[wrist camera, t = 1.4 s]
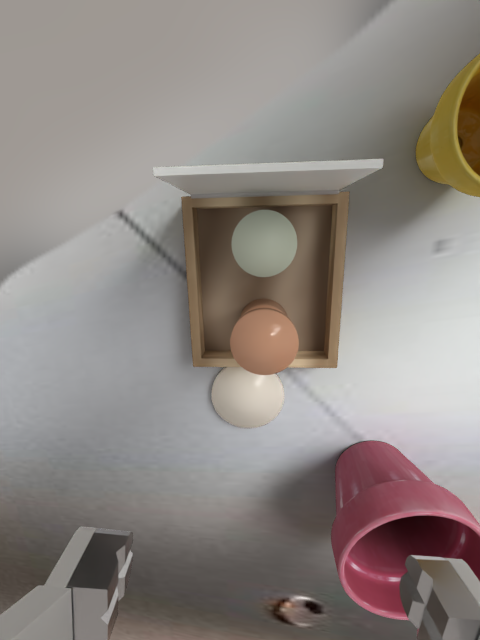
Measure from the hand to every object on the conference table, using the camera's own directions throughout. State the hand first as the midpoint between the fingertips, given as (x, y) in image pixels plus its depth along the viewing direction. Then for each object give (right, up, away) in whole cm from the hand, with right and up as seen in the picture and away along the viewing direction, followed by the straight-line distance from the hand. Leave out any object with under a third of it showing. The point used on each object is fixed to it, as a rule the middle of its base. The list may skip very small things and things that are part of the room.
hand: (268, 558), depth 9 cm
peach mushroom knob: (+2, +7, +27) cm, 27 cm away
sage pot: (+2, +15, +24) cm, 29 cm away
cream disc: (0, -2, +30) cm, 30 cm away
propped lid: (+1, +19, +21) cm, 28 cm away
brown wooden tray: (+2, +11, +26) cm, 28 cm away
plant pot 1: (+16, -13, +32) cm, 38 cm away
